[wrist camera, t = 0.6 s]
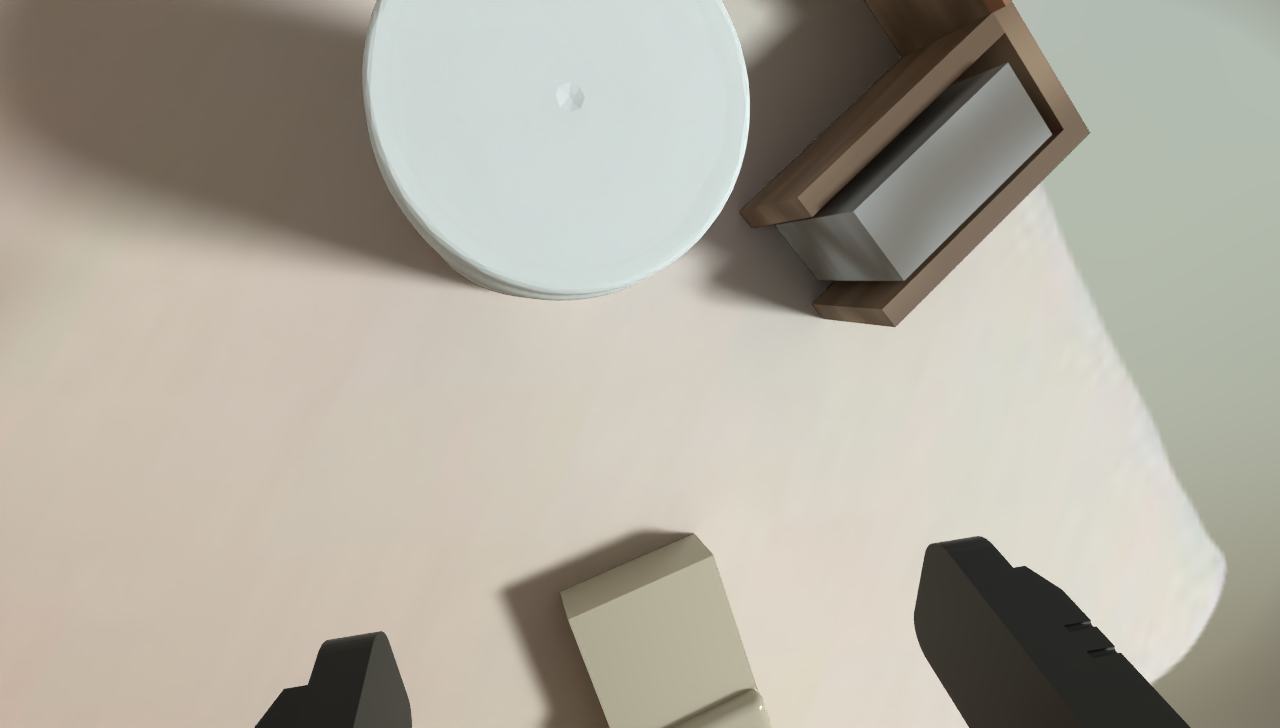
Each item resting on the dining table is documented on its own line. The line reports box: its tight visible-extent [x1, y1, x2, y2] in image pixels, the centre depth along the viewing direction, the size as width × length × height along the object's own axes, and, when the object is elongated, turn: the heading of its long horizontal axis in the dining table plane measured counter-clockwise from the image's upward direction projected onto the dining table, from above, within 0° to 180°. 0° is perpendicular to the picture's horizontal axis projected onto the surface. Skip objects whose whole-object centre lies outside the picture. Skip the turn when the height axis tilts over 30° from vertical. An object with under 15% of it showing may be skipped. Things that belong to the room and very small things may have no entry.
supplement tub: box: [362, 0, 750, 300], centre depth 23 cm, size 10×10×15 cm
